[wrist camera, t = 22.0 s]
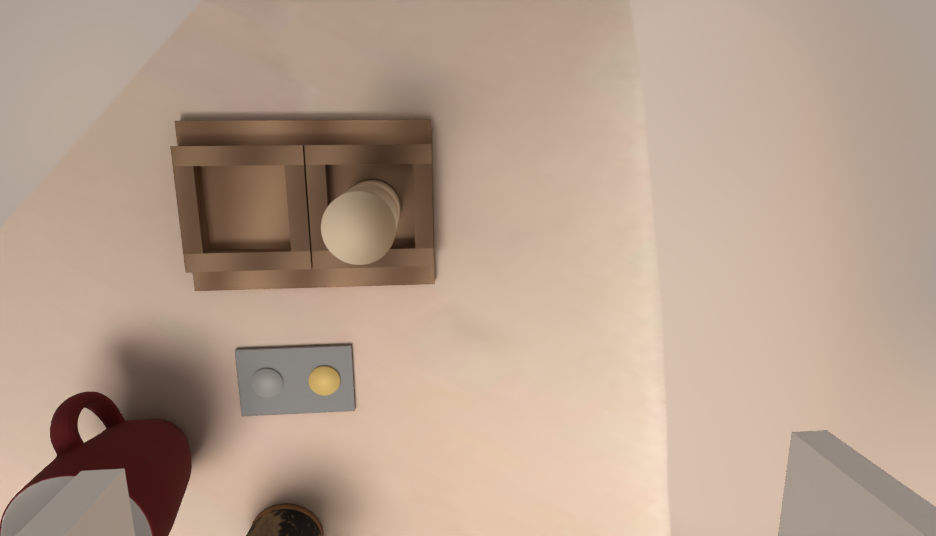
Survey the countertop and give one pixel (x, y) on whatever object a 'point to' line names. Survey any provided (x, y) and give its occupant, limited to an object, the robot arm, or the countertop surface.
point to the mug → (111, 465)
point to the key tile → (295, 380)
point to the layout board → (297, 200)
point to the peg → (362, 222)
